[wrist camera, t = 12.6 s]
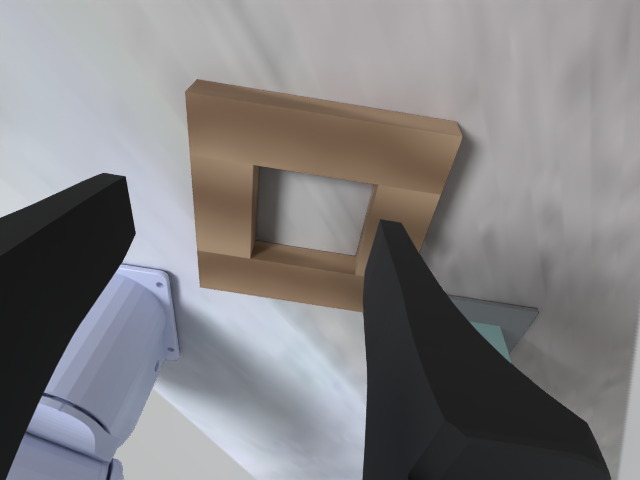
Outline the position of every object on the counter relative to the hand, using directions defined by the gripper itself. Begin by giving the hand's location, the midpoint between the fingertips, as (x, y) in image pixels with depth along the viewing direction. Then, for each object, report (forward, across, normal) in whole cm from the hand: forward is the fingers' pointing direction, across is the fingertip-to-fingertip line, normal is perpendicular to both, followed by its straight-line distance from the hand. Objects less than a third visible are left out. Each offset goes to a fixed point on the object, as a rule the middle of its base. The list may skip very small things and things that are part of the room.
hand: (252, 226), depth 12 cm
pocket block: (+9, -2, +6) cm, 11 cm away
